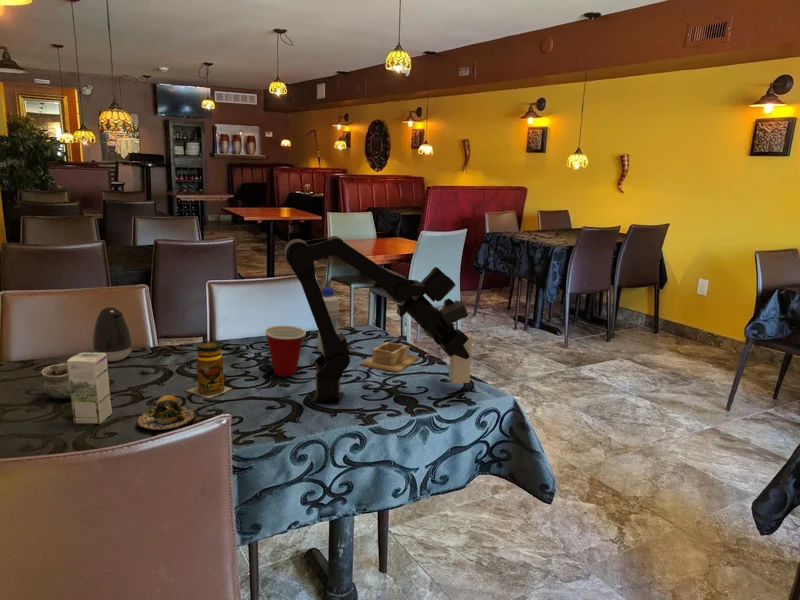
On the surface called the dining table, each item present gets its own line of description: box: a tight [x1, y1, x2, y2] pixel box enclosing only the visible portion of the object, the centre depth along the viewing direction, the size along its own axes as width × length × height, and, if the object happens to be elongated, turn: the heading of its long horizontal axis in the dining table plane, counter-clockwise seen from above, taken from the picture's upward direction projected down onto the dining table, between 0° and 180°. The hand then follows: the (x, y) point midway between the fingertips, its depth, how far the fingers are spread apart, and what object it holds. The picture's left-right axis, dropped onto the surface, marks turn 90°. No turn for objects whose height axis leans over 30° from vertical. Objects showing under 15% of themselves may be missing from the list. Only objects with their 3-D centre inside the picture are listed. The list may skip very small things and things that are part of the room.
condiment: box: [186, 341, 233, 399], centre depth 140 cm, size 7×8×12 cm
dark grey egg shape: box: [91, 306, 134, 363], centre depth 161 cm, size 10×10×15 cm
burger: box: [136, 386, 197, 431], centre depth 122 cm, size 12×12×8 cm
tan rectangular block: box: [448, 333, 473, 384], centre depth 144 cm, size 4×3×12 cm, turn 104°
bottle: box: [317, 286, 340, 354], centre depth 171 cm, size 7×7×20 cm
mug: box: [40, 362, 71, 400], centre depth 135 cm, size 10×12×10 cm
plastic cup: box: [264, 325, 307, 377], centre depth 153 cm, size 11×11×12 cm
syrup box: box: [66, 352, 113, 425], centre depth 122 cm, size 6×6×14 cm
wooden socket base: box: [359, 341, 420, 374], centre depth 165 cm, size 14×12×4 cm
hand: (465, 355), depth 144 cm, fingers closed on tan rectangular block, 3 cm apart
